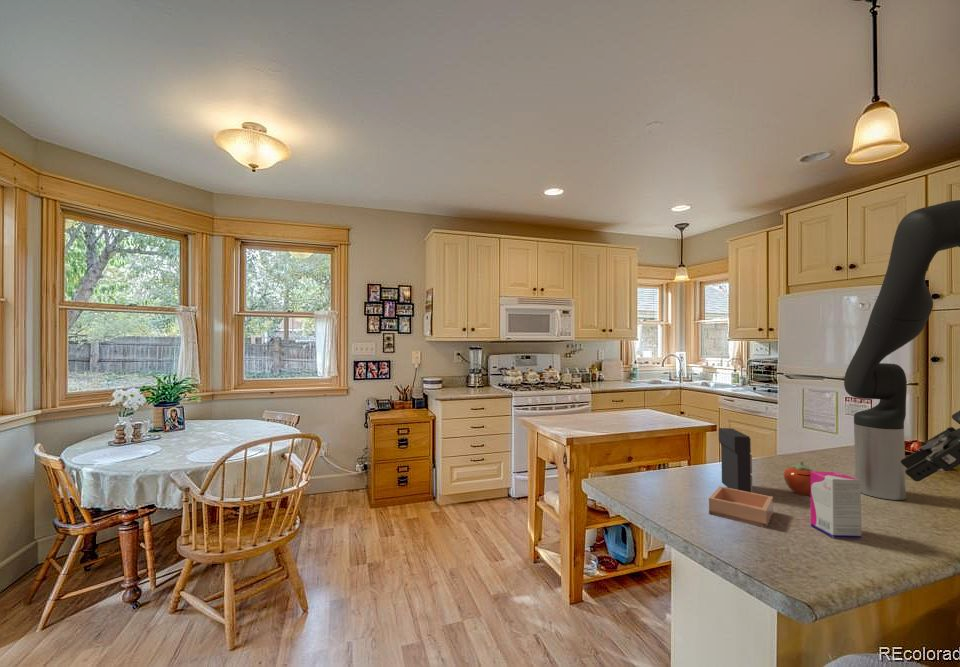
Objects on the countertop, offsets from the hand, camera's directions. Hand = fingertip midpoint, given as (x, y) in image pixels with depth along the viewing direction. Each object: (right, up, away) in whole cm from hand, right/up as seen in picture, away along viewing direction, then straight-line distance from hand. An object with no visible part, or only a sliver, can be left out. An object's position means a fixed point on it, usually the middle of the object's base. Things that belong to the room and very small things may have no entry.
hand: (907, 471), depth 77 cm
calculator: (-13, -15, +31) cm, 37 cm away
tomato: (+3, -15, +29) cm, 33 cm away
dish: (-21, -15, +16) cm, 30 cm away
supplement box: (-8, -15, +7) cm, 18 cm away
